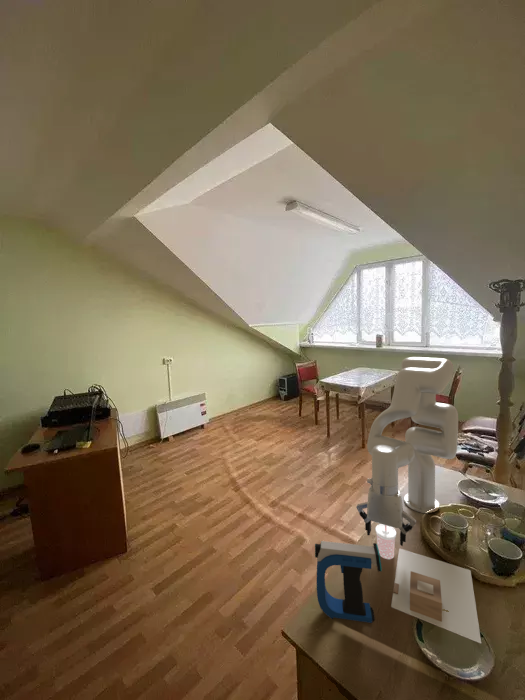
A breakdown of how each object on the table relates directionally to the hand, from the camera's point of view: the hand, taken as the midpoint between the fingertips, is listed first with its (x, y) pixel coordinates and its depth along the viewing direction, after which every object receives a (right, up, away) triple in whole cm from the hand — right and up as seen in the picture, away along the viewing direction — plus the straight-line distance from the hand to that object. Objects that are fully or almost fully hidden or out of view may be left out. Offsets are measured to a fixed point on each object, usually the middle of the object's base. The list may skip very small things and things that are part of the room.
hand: (385, 537), depth 93 cm
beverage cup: (+1, -7, +1) cm, 7 cm away
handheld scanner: (-16, -10, -17) cm, 25 cm away
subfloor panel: (+9, -8, -11) cm, 16 cm away
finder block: (+4, -7, -16) cm, 18 cm away
